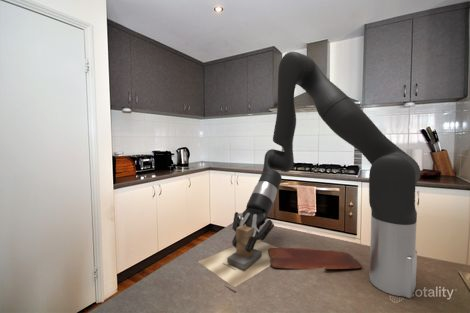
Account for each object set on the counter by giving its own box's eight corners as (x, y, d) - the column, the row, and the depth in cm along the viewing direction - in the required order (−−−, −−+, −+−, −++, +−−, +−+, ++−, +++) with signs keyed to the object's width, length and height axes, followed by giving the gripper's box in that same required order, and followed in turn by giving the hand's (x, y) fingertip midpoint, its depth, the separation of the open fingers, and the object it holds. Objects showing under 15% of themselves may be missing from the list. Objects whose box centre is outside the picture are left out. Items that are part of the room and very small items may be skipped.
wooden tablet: (272, 271, 62) (272, 265, 62) (266, 250, 72) (266, 246, 72) (366, 272, 63) (367, 267, 63) (347, 252, 73) (348, 247, 73)
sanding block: (261, 256, 69) (261, 225, 68) (244, 269, 61) (243, 235, 61) (245, 250, 72) (245, 221, 72) (227, 262, 65) (226, 230, 64)
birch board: (290, 257, 71) (290, 253, 71) (234, 293, 55) (234, 287, 55) (253, 241, 83) (253, 237, 83) (198, 266, 67) (197, 261, 67)
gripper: (239, 189, 76) (216, 237, 67) (278, 195, 67) (256, 250, 58) (249, 201, 80) (227, 247, 72) (286, 208, 72) (267, 261, 63)
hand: (241, 248), depth 65 cm, fingers closed on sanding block, 4 cm apart
